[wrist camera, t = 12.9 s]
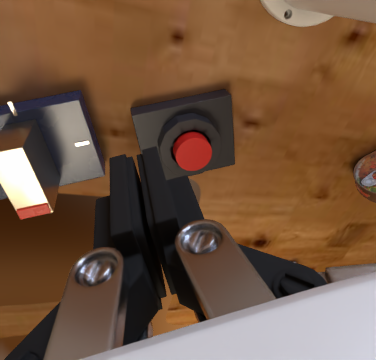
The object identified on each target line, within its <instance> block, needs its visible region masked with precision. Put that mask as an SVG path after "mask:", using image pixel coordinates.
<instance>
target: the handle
mask: <svg viewBox="0 0 376 360" xmlns="http://www.w3.org/2000/svg"><path fill="white" fill-rule="evenodd" d="M60 179H61V178H60V175H59V173H58V171H57V168H56V166H55V164H54V161H53V159H52V156H51V154H50V152H49V149H48V147H47V145H46V142H45V140H44V138H43V135H42V133H41V131H40V128H39V126H38V123H37V121H36V119H34V120H29V121H24V122H19V123H13V124H8V125H4V126H3V128H2V129H1V130H0V184H1V185H2V187H3V189H4V191H5V193H6V194H7V196H8V198H9V199H10V201H11V203H12V205H13V207H14V209H15V210H16V212H17V214H18V215H19V217H20V219H25V218H30V217H34V216H39V215H43V214H48V213H52V212H53V211H54V206H55V202H56V197H57V193H58V188H59V184H60Z"/></svg>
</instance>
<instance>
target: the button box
mask: <svg viewBox="0 0 376 360" xmlns="http://www.w3.org/2000/svg"><path fill="white" fill-rule="evenodd" d="M131 114H132V119H133V123H134V127H135V131H136V135H137V139H138V143H139V147H140V151H141V154H142V150H143V149H147V148H151V147H154V146H156V147H157V150H158V154H159V157H160V161H161V164H162V168H163V171H164V175H165V178H166V180H169V179H173V178H176V177H180V176H184V175H187V176H192V175H196V174H200V173H203V172H204V171H208V170H213V169H217V168H221V167H225V166H230V165H234V164H235V156H234V137H233V118H232V99H231V94H230V93H229V92H228V91H227V90H225V89H223V90H218V91H213V92H208V93H204V94H199V95H194V96H189V97H184V98H179V99H174V100H170V101H165V102H160V103H155V104H150V105H145V106H140V107H135V108H131ZM190 131H194V132H199V133H201V134H202V135H204V136H205V138H206V139H207V141H208V142H209V144H210V146H211V148H212V156H211V159H210V161H209V162H208V164H207V165H206V166H204V167H203V168H201V169H199V170H195V171H188V170H185V169H183V168H181V167H180V166H179V165H178V163H177V161H176V159H175V156H174V153H173V145H174V143H175V141H176V139H177V138H178V137H179V136H180V135H182V134H184V133H186V132H190Z"/></svg>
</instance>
